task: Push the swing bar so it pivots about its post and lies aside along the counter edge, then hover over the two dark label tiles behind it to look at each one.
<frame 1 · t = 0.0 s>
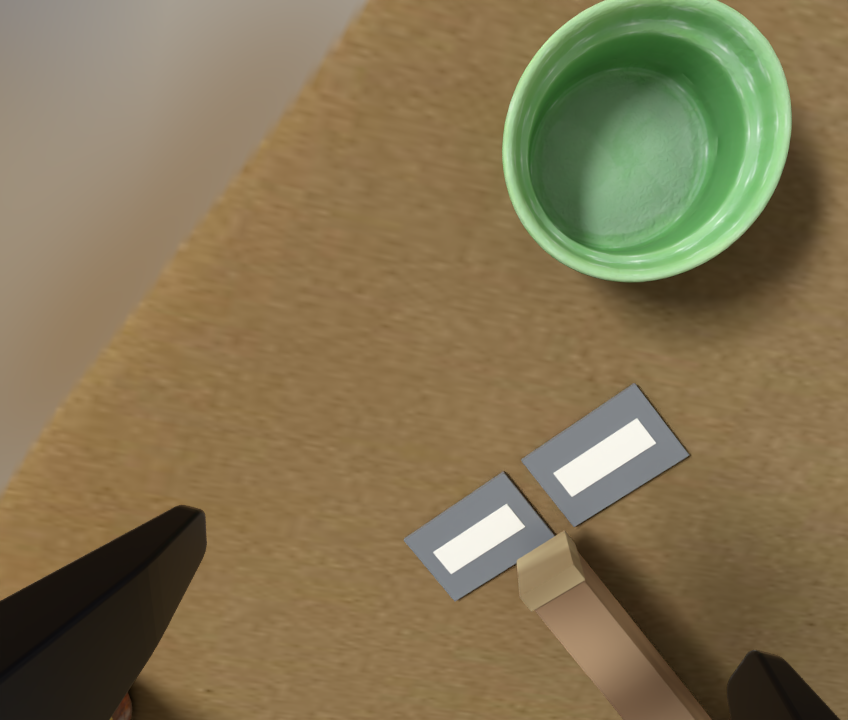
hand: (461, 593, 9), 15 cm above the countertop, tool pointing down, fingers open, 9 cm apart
label tile A: (478, 537, 25), on the countertop
ramekin: (611, 164, 21), on the countertop
label tile B: (602, 456, 24), on the countertop
sauce bottle: (88, 688, 31), on the countertop
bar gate: (638, 680, 23), point 3 cm above the countertop, hinge at 0.0°
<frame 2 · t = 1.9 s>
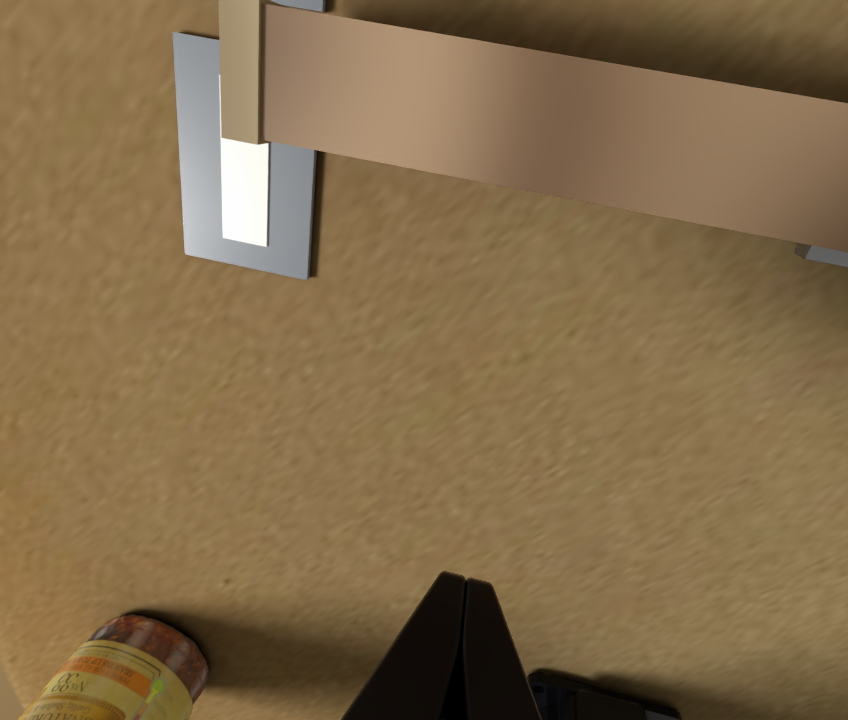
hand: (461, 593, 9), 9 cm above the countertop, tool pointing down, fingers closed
label tile A: (248, 165, 15), on the countertop
sauce bottle: (157, 645, 27), on the countertop
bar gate: (559, 127, 11), point 3 cm above the countertop, hinge at 0.0°
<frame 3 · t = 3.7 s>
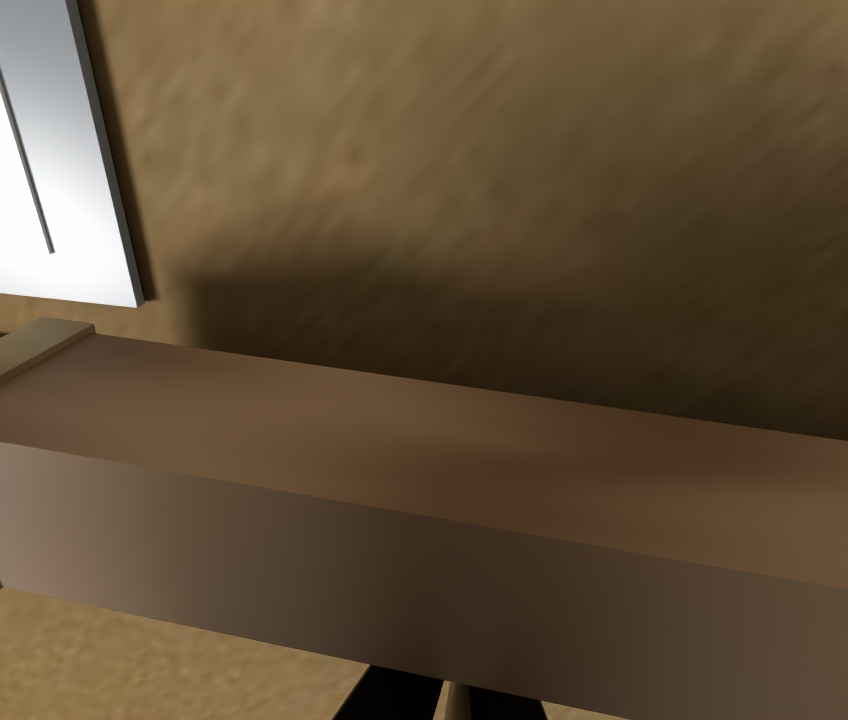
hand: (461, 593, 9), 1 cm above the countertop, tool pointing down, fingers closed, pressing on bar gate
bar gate: (497, 529, 6), point 3 cm above the countertop, hinge at -1.6°, touching gripper
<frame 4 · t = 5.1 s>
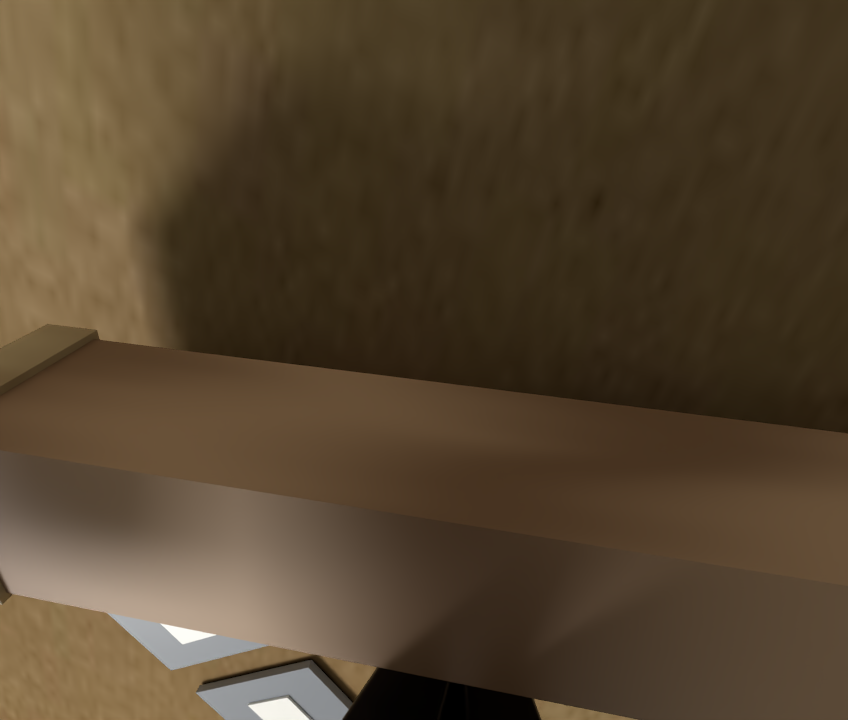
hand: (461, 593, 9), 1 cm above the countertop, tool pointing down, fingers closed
label tile B: (146, 570, 12), on the countertop
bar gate: (504, 529, 6), point 3 cm above the countertop, hinge at -33.8°, touching gripper
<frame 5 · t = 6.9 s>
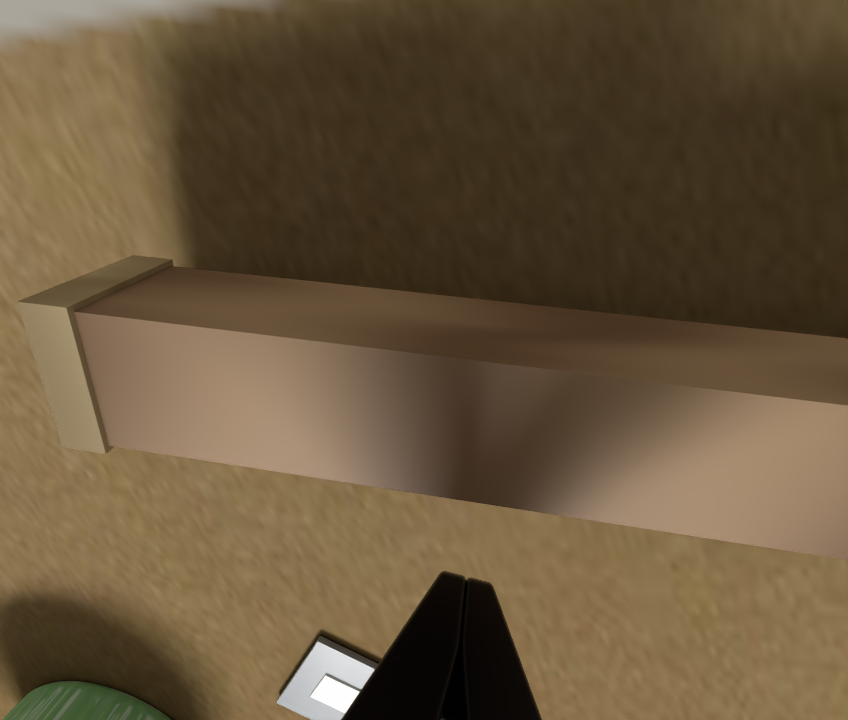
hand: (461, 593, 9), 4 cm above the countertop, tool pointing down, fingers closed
label tile B: (379, 707, 17), on the countertop
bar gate: (482, 394, 9), point 3 cm above the countertop, hinge at -66.2°
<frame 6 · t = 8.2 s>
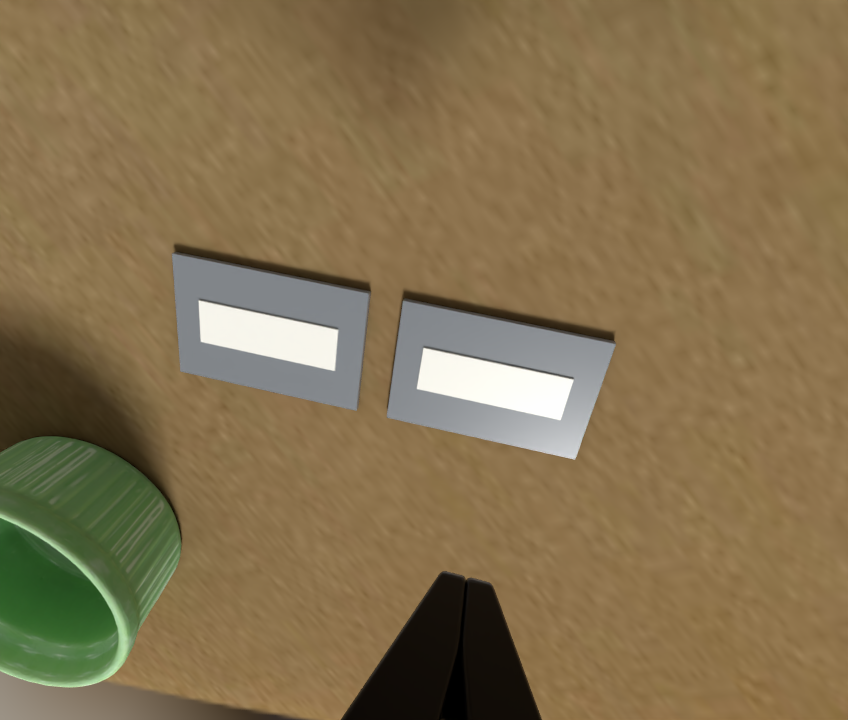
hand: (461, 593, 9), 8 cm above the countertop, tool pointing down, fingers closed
label tile A: (493, 380, 16), on the countertop
ramekin: (98, 509, 22), on the countertop
label tile B: (270, 332, 16), on the countertop
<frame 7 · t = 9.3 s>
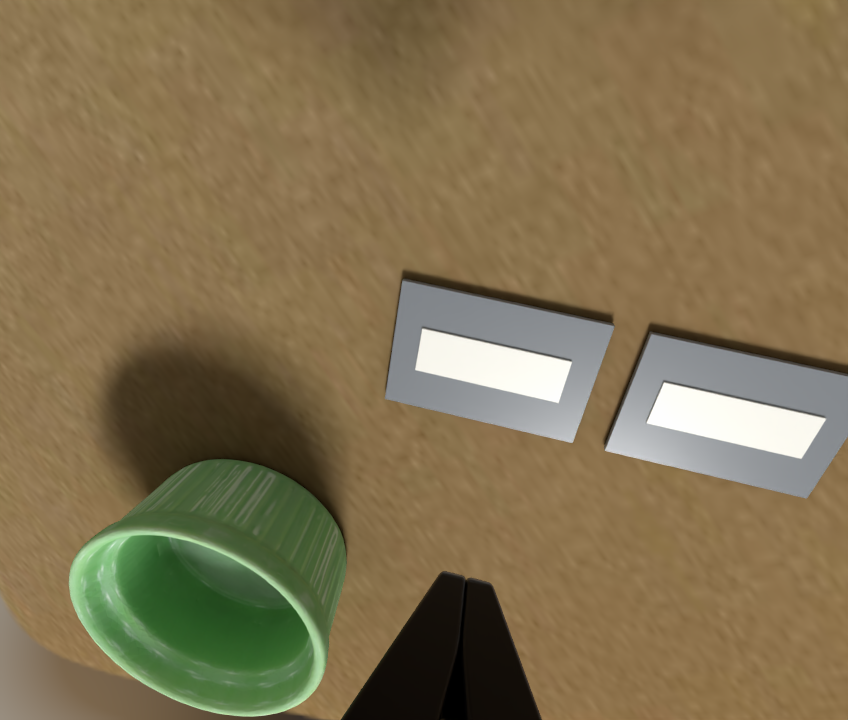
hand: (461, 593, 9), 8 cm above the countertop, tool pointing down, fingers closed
label tile A: (730, 416, 15), on the countertop
ramekin: (256, 531, 21), on the countertop
label tile B: (491, 362, 16), on the countertop
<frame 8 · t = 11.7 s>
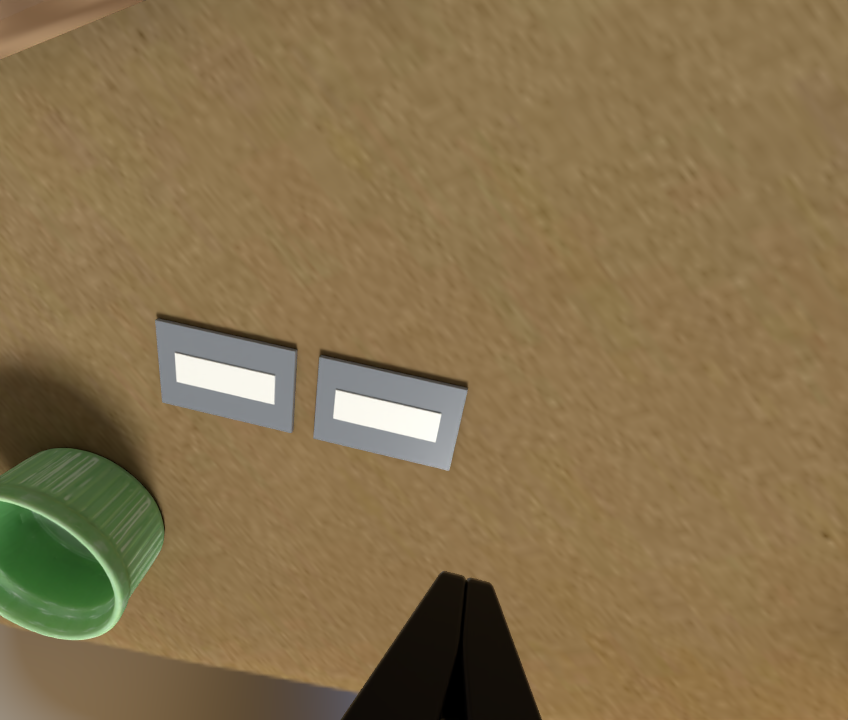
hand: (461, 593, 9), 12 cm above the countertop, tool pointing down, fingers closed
label tile A: (387, 413, 22), on the countertop
ramekin: (100, 504, 28), on the countertop
label tile B: (227, 376, 22), on the countertop
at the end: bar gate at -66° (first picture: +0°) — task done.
